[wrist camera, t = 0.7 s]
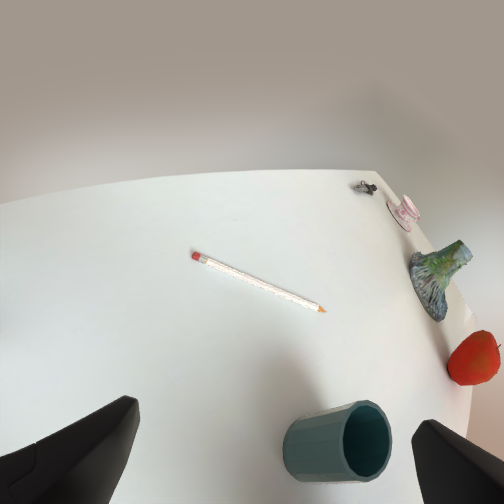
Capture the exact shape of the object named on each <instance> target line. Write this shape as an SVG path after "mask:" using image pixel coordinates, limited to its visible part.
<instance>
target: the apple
mask: <svg viewBox="0 0 504 504" xmlns="http://www.w3.org/2000/svg"><path fill="white" fill-rule="evenodd" d="M499 346H500V345H499ZM499 346H497V343H496V340H495V338H494V336H493V335H492V334H491V333H490V332H487V331H484V330H481V331H477V332H474V333H472V334H471V335H470V336H469V337H467V338H466V339H465V340H464V341H462V343H461V344H460V345H459V346H458V347H457V348H456V349H455V351H454V352H453V353H452V354H451V357H450V359H449V362H448V365H447V367H448V372H449V374H450V376H451V378H452V380H453V381H455V382H456V383H458V384H459V385H461V386H464V385H477V384H480V383H483V382H487V381H489V380H490V379H491V378H492V377H493V376H494V375H495V374H496V373H497V372H498V369H499V367H500V353H499V350H498V347H499Z"/></svg>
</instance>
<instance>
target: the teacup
mask: <svg viewBox="0 0 504 504" xmlns="http://www.w3.org/2000/svg"><path fill="white" fill-rule="evenodd" d="M387 204H388V207H389V209H390V211H391V213H392V214H393V216H394V217H395V219H396V220H397V221H398V222H399V224H400V225H401V226H402V227H403V228H404V229H405V230H407V231H411V227H410V224H409V222H415V221H417V220H419V218H418V217H417V216H420V214H419V212H418V210H417V208H416V207H415V206H414V204H413V203H412V202H411V200H410V199H409V198H408V197H407V196H405V195H404V197H403V201H402V202H401V204H400V205H399V206H398V207H397V206H396V205H395V204H394V203H392V202H391V201H388V203H387ZM414 216H415V217H416V218H417V220H414V221H412V220H409V219H410V217H414ZM408 221H409V222H408Z"/></svg>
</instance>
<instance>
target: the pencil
mask: <svg viewBox="0 0 504 504" xmlns="http://www.w3.org/2000/svg"><path fill="white" fill-rule="evenodd" d="M192 258H193V259H195V260H197V261H199V262H202V263H204V264H206V265H208V266H211V267H213V268H215V269H218V270H220V271H222V272H224V273H227V274H229V275H231V276H234V277H236V278H238V279H241V280H243V281H245V282H248V283H250V284H252V285H255V286H257V287H260V288H262V289H264V290H267V291H269V292H271V293H274V294H276V295H279V296H281V297H283V298H286V299H288V300H291V301H293V302H296V303H298V304H301V305H303V306H305V307H308V308H310V309H313V310H315V311H321V312H326V311H325V310H324V309H323V308H321V307H320V306H319V305H316V304H314V303H311V302H309V301H307V300H304V299H302V298H300V297H297V296H295V295H293V294H290V293H288V292H286V291H283V290H281V289H279V288H276V287H274V286H272V285H269V284H267V283H265V282H262V281H260V280H258V279H255V278H253V277H251V276H249V275H246V274H244V273H242V272H239V271H237V270H235V269H233V268H230V267H228V266H226V265H224V264H221V263H219V262H217V261H215V260H212V259H210V258H208V257H206V256H204V255H201V254H199V253H197V252H194V253H193V256H192Z"/></svg>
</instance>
